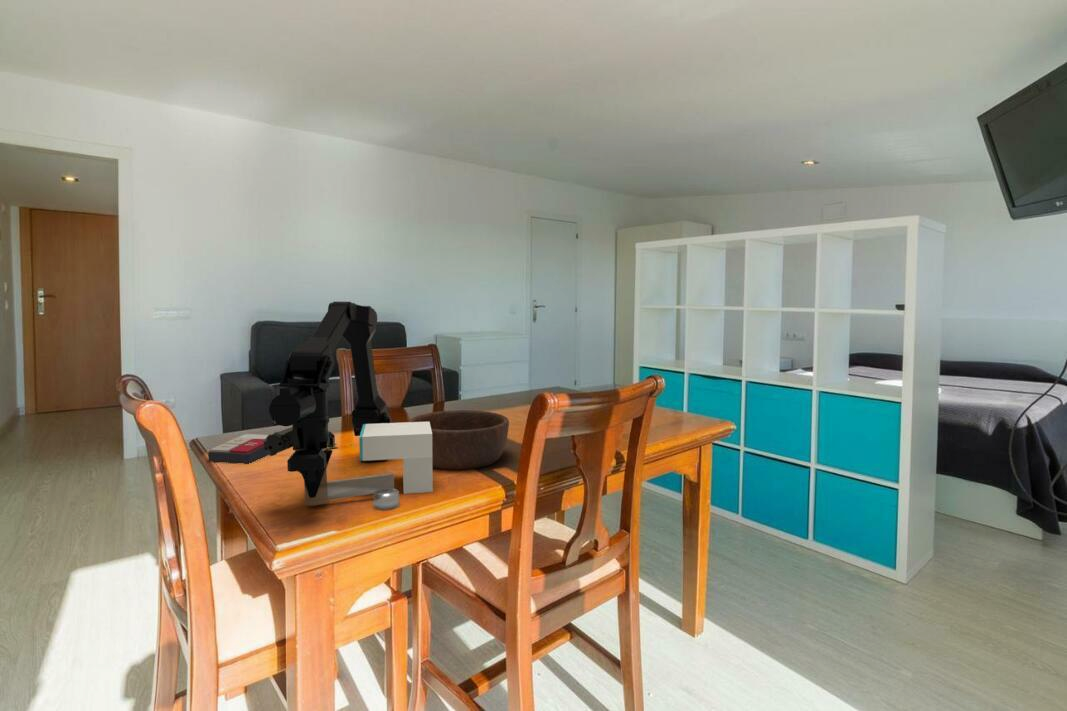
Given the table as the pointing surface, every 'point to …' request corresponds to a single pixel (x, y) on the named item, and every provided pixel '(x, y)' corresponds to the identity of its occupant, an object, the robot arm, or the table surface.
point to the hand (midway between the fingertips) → (314, 493)
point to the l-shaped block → (402, 450)
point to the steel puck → (386, 499)
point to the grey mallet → (348, 487)
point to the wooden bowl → (465, 438)
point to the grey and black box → (240, 450)
